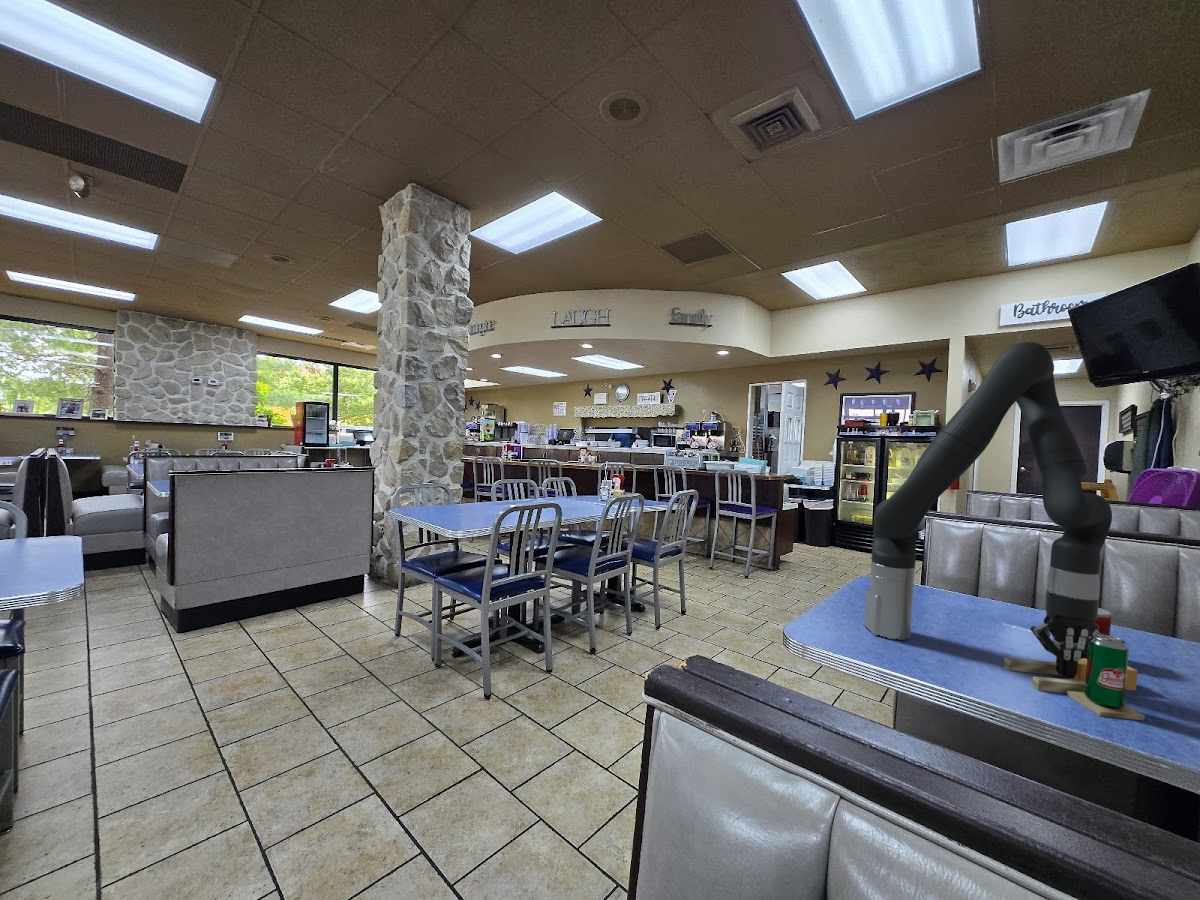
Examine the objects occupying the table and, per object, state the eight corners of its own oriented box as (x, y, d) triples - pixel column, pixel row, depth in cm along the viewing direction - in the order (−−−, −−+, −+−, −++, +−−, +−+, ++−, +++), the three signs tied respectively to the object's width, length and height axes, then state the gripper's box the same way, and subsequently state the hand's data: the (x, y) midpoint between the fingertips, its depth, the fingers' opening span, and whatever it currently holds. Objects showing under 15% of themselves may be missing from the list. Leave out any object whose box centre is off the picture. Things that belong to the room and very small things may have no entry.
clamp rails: (1038, 690, 94) (1038, 680, 94) (1003, 666, 104) (1004, 657, 103) (1122, 698, 92) (1122, 688, 92) (1079, 673, 102) (1080, 664, 102)
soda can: (1098, 708, 87) (1103, 642, 86) (1077, 693, 92) (1081, 631, 91) (1132, 712, 86) (1137, 646, 85) (1108, 697, 91) (1113, 634, 90)
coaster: (1099, 715, 86) (1100, 711, 86) (1067, 694, 93) (1067, 690, 93) (1144, 720, 85) (1144, 715, 85) (1108, 698, 92) (1108, 694, 92)
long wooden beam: (1079, 685, 97) (1081, 665, 97) (1063, 675, 101) (1064, 656, 100) (1135, 690, 96) (1137, 670, 95) (1116, 680, 100) (1118, 661, 99)
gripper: (1093, 588, 100) (1086, 671, 100) (1021, 583, 101) (1016, 664, 102) (1127, 601, 92) (1120, 690, 93) (1050, 595, 94) (1043, 682, 95)
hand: (1065, 676), depth 98 cm, fingers closed
